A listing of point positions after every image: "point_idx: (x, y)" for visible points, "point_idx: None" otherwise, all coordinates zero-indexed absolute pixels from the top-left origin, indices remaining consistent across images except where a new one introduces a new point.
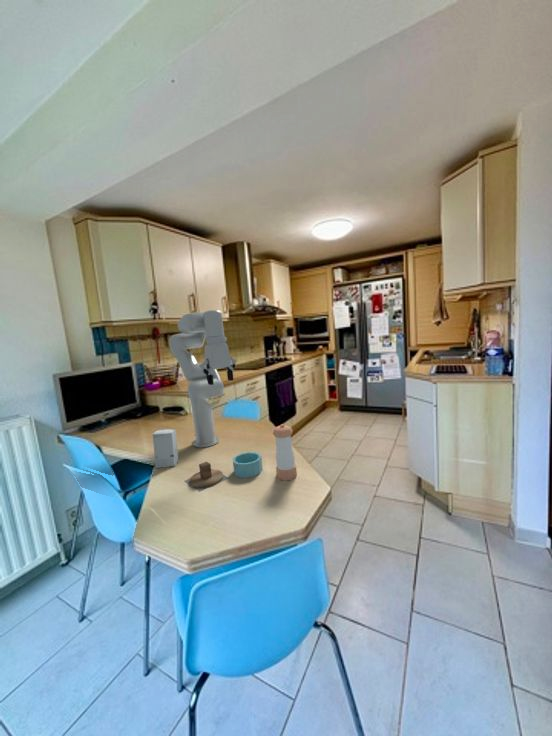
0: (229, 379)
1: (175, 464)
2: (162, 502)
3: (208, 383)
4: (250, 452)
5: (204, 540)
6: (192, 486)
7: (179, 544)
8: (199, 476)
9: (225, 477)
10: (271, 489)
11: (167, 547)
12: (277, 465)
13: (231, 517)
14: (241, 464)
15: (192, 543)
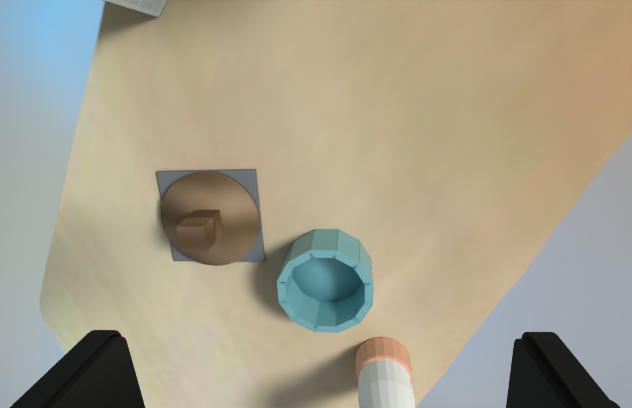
0: (514, 393)
1: (162, 7)
2: (87, 227)
3: (89, 346)
4: (361, 269)
5: None
6: None
7: None
8: (194, 202)
9: (258, 251)
10: (310, 371)
11: None
12: (360, 377)
13: (194, 379)
14: (286, 312)
15: None
